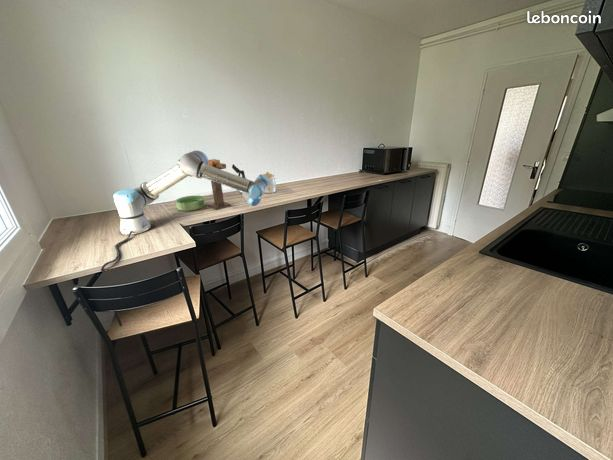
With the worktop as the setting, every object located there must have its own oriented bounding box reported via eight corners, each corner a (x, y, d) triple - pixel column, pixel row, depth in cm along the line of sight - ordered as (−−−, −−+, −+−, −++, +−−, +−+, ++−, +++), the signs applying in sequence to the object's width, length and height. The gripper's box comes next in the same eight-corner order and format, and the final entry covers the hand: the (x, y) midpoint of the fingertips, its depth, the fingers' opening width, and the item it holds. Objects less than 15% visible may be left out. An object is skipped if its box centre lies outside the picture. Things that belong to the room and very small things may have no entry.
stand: (231, 205, 189) (225, 165, 177) (216, 209, 181) (210, 167, 169) (222, 202, 197) (216, 163, 184) (208, 206, 188) (201, 166, 176)
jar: (273, 189, 234) (272, 170, 227) (278, 192, 223) (277, 172, 216) (259, 190, 229) (258, 171, 222) (263, 194, 218) (262, 173, 211)
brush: (228, 167, 170) (227, 161, 169) (220, 168, 166) (219, 162, 165) (215, 164, 180) (214, 159, 179) (207, 165, 176) (206, 160, 175)
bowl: (207, 208, 184) (206, 200, 182) (178, 213, 176) (176, 204, 173) (203, 201, 200) (202, 194, 197) (176, 205, 191) (174, 197, 189)
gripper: (224, 195, 156) (206, 174, 162) (256, 187, 173) (238, 169, 180) (226, 186, 151) (207, 165, 157) (258, 179, 168) (240, 160, 175)
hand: (224, 167), depth 169 cm, fingers open, 13 cm apart
